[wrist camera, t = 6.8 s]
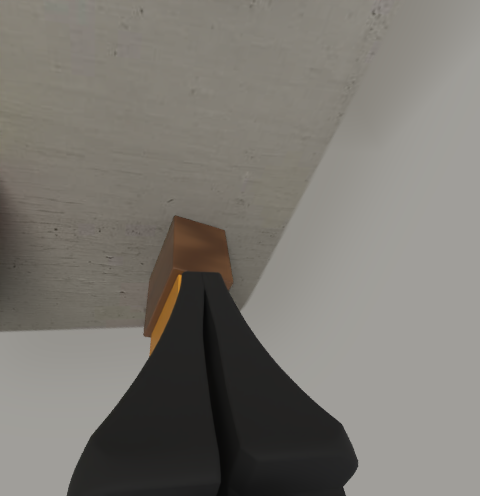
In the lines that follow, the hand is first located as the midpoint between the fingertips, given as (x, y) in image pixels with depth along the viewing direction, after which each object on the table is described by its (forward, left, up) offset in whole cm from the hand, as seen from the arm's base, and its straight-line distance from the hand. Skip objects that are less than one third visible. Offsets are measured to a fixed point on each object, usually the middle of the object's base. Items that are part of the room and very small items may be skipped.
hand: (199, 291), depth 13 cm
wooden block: (-1, +5, -9) cm, 11 cm away
